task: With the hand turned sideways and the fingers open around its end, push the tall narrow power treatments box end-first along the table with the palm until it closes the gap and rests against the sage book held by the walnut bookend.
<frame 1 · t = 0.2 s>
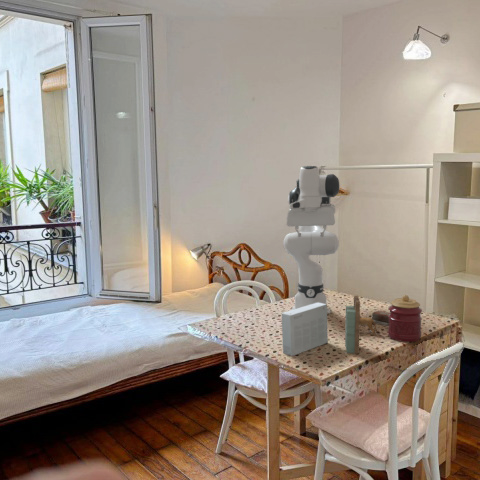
hand: (310, 236, 214), 40 cm above the table, tool pointing down, fingers open, 8 cm apart
lion figurine: (361, 333, 213), on the table
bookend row: (351, 349, 194), on the table
packaged product: (392, 325, 224), on the table
skincare box: (305, 348, 197), on the table
canister: (404, 337, 207), on the table
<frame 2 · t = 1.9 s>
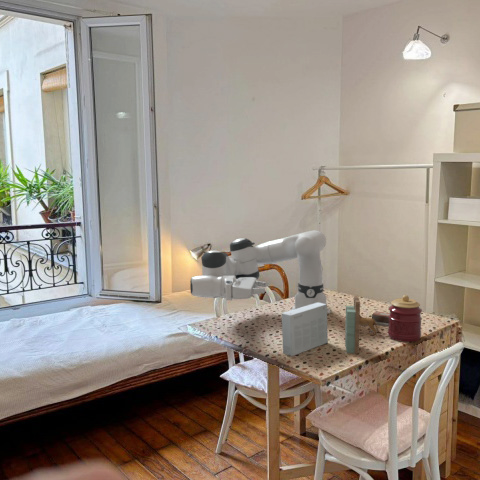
hand: (265, 287, 195), 24 cm above the table, tool horizontal, fingers open, 8 cm apart
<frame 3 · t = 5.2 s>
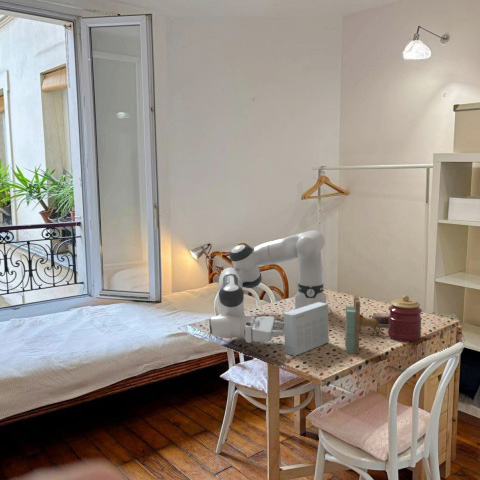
hand: (285, 328, 196), 8 cm above the table, tool horizontal, fingers open, 8 cm apart
lion figurine: (364, 333, 212), on the table
skincare box: (306, 348, 197), on the table, touching gripper
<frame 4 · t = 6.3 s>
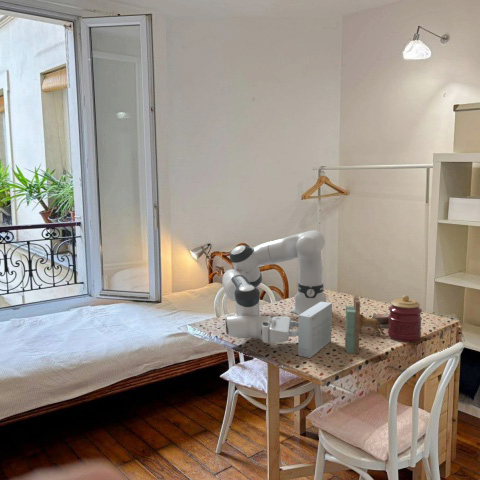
hand: (301, 328, 195), 8 cm above the table, tool horizontal, fingers open, 8 cm apart
skincare box: (314, 348, 196), on the table, touching gripper
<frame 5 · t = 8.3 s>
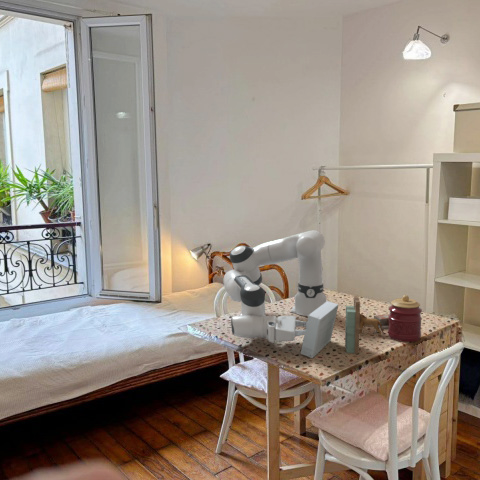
hand: (307, 328, 195), 8 cm above the table, tool horizontal, fingers open, 8 cm apart
skincare box: (315, 347, 196), on the table
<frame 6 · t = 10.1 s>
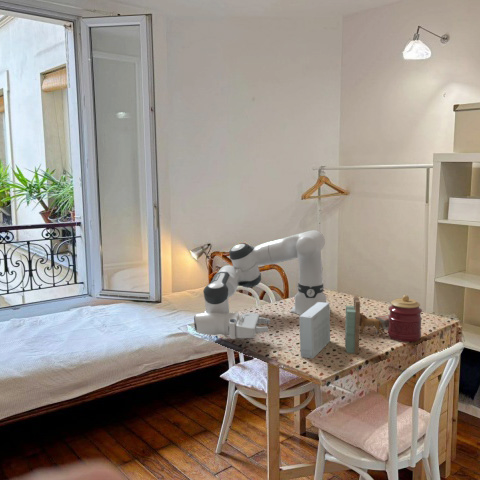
hand: (269, 325, 197), 9 cm above the table, tool horizontal, fingers open, 8 cm apart
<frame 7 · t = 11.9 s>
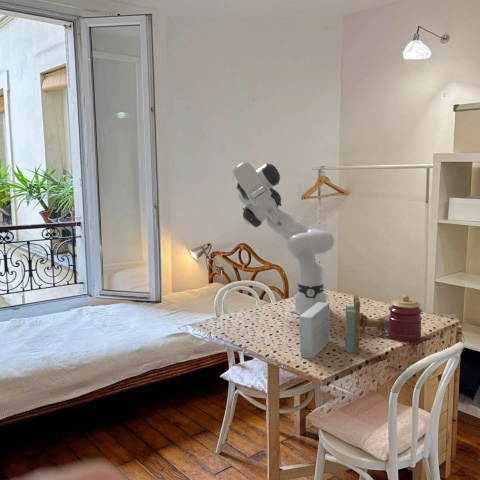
hand: (279, 223, 201), 47 cm above the table, tool tilted 40°, fingers open, 8 cm apart
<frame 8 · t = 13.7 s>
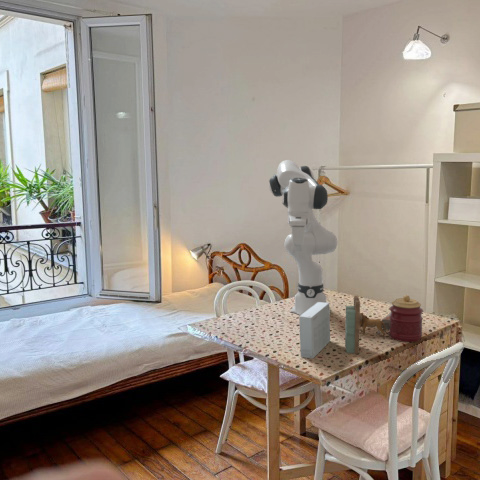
hand: (298, 253, 204), 35 cm above the table, tool pointing down, fingers open, 8 cm apart
at the end: skincare box 1.6 cm from the target spot, on the table; skincare box moved 3.9 cm from its start; skincare box tilted 0° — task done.
